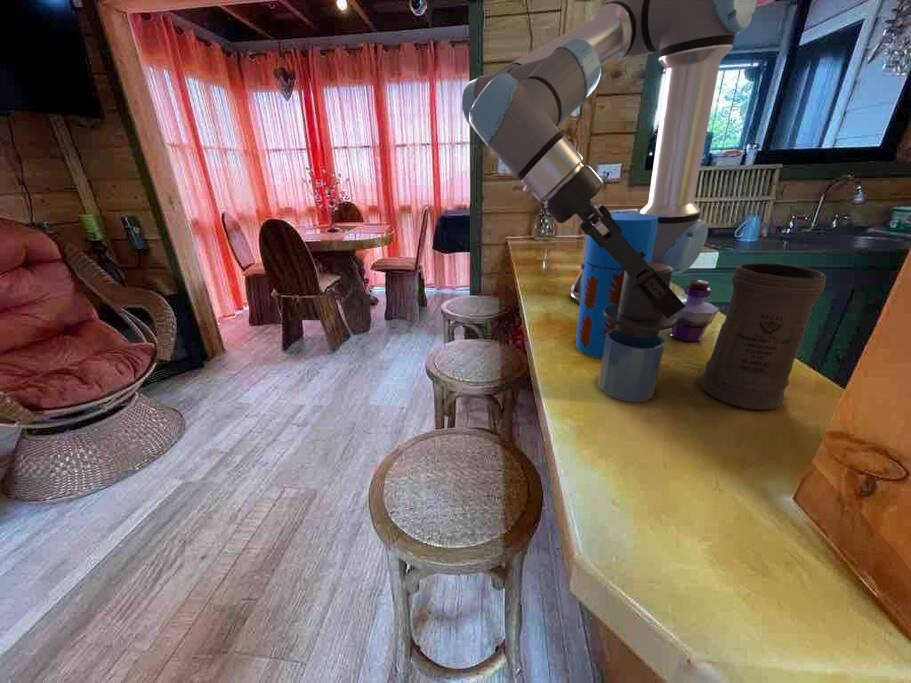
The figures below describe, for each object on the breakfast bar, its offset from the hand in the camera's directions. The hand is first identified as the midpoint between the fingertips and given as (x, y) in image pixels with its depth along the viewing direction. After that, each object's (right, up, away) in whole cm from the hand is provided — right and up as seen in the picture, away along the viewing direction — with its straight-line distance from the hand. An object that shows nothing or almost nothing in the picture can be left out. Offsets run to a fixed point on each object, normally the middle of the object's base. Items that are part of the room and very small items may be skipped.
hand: (669, 303), depth 54 cm
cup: (-3, -13, +7) cm, 15 cm away
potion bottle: (+17, -5, +24) cm, 30 cm away
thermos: (-1, -7, +21) cm, 22 cm away
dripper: (-3, -4, +3) cm, 6 cm away
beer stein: (+15, -13, +7) cm, 21 cm away
